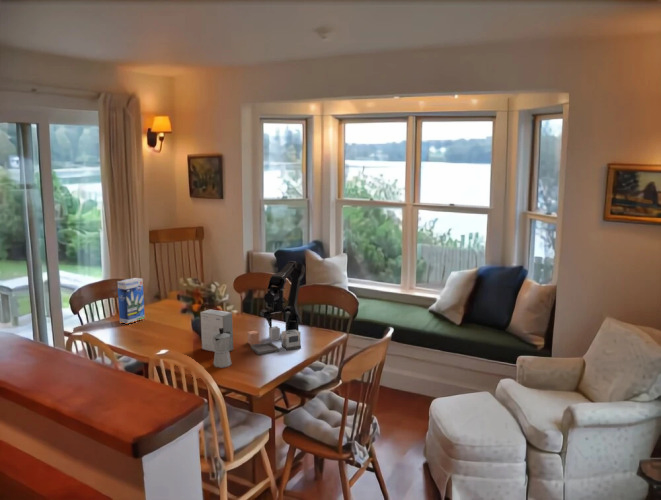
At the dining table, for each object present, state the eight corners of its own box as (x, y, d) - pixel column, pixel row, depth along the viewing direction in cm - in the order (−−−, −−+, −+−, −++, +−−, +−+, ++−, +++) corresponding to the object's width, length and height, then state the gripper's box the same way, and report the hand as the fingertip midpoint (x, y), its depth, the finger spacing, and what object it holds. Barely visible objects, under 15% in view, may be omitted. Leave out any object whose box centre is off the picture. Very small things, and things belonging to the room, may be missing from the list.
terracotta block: (255, 341, 305) (255, 330, 304) (258, 343, 301) (258, 332, 300) (247, 342, 303) (247, 331, 302) (250, 345, 299) (250, 334, 298)
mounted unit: (295, 344, 300) (295, 329, 299) (300, 348, 294) (300, 332, 293) (281, 346, 296) (281, 331, 295) (286, 350, 290) (286, 334, 289)
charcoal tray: (270, 345, 299) (270, 341, 299) (278, 351, 289) (278, 348, 289) (251, 348, 294) (251, 345, 294) (258, 354, 284) (258, 351, 284)
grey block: (276, 336, 313) (276, 326, 312) (279, 339, 309) (279, 328, 308) (269, 337, 311) (269, 327, 310) (272, 340, 307) (272, 329, 306)
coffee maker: (224, 370, 264) (223, 333, 261) (207, 368, 267) (206, 331, 264) (238, 359, 278) (237, 324, 275) (222, 357, 281) (221, 322, 278)
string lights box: (127, 325, 333) (124, 282, 329) (119, 323, 337) (116, 281, 333) (145, 319, 344) (143, 278, 340) (137, 318, 348) (134, 277, 344)
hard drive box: (233, 350, 291) (232, 312, 288) (224, 354, 285) (222, 316, 282) (211, 344, 299) (209, 308, 296) (201, 349, 293) (199, 312, 289)
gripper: (287, 293, 312) (288, 320, 315) (256, 297, 303) (256, 325, 306) (296, 297, 302) (296, 325, 305) (263, 302, 293) (264, 331, 296)
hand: (278, 326), depth 303 cm, fingers open, 9 cm apart
